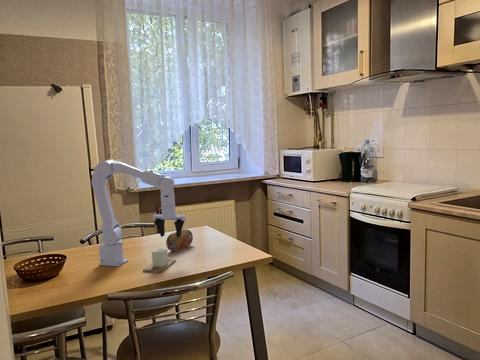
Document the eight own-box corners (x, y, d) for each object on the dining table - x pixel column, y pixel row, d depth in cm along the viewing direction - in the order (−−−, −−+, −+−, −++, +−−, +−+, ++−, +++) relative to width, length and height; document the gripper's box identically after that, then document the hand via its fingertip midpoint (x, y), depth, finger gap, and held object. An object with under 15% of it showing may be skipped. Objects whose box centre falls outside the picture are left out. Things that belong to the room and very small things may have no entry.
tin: (170, 253, 173) (169, 235, 172) (165, 252, 175) (164, 234, 174) (193, 244, 185) (192, 227, 184) (189, 243, 187) (187, 227, 186)
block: (152, 266, 156) (151, 252, 155) (158, 262, 160) (157, 248, 159) (162, 267, 155) (161, 252, 154) (168, 263, 159) (167, 248, 158)
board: (143, 273, 153) (142, 269, 153) (159, 262, 165) (158, 258, 165) (161, 274, 150) (160, 271, 150) (175, 263, 163) (175, 259, 163)
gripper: (188, 203, 163) (190, 234, 165) (157, 202, 167) (160, 233, 169) (180, 207, 156) (182, 239, 158) (149, 206, 161) (151, 237, 163)
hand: (170, 236), depth 163 cm, fingers open, 7 cm apart
